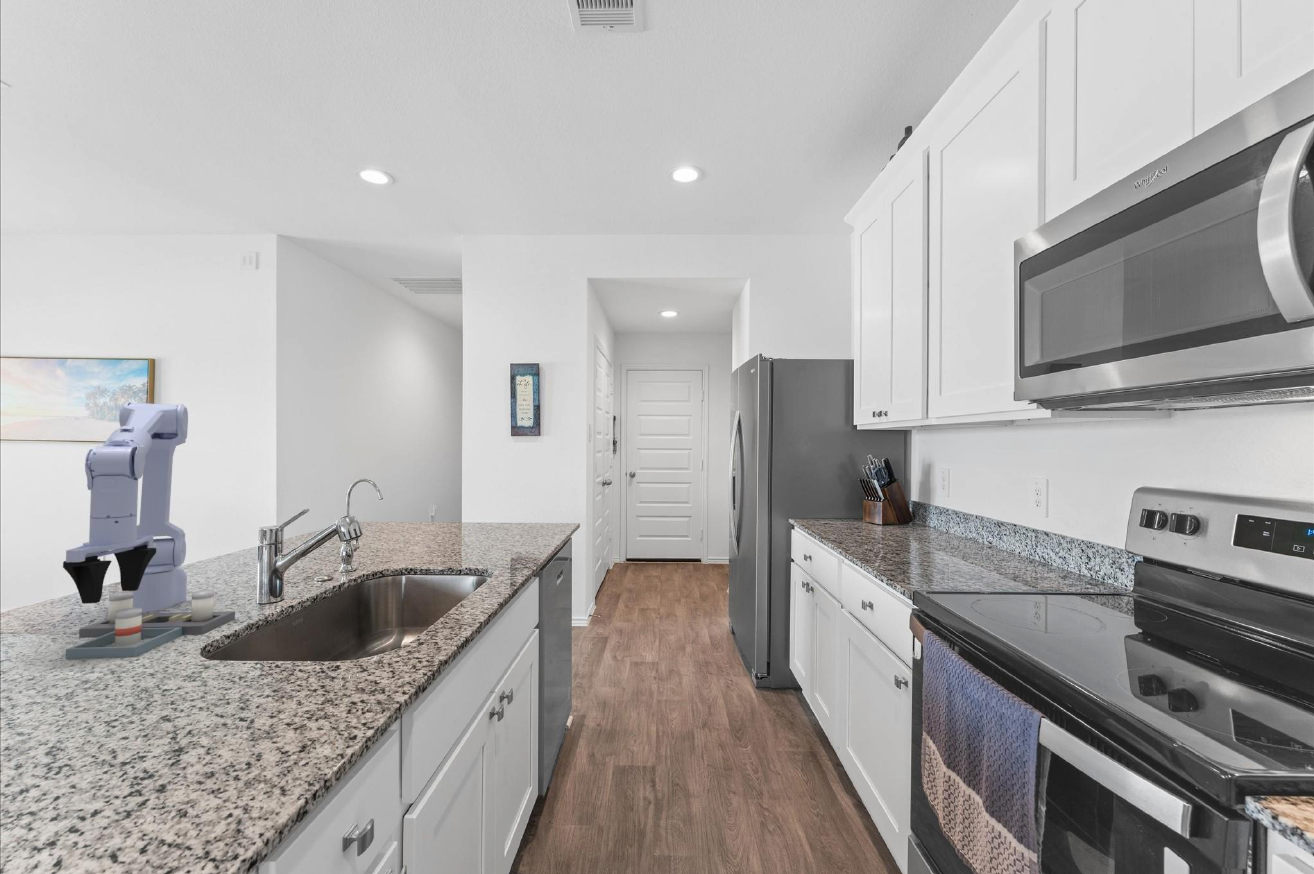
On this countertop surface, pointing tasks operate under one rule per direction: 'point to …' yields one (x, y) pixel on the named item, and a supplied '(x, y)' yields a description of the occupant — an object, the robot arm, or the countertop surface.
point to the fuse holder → (164, 623)
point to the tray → (96, 651)
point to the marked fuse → (128, 627)
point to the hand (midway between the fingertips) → (111, 596)
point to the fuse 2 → (202, 606)
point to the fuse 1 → (119, 603)
